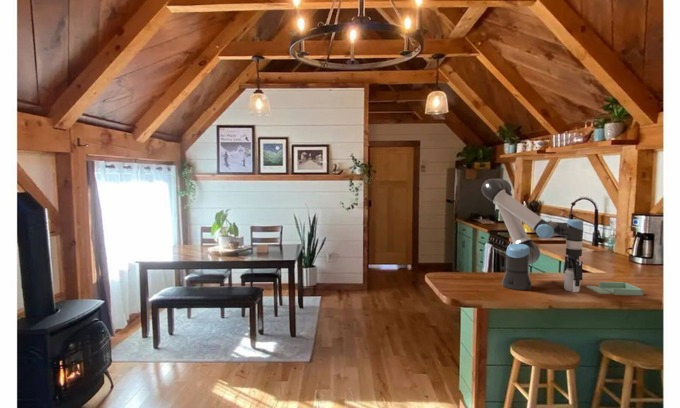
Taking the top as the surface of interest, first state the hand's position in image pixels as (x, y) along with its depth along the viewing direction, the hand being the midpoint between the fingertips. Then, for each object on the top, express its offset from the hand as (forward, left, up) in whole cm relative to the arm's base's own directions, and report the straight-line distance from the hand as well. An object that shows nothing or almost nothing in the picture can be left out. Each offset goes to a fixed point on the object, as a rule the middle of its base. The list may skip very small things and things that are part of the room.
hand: (571, 289), depth 209 cm
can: (0, 0, -1) cm, 1 cm away
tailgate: (+17, 0, 0) cm, 17 cm away
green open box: (+24, 0, -1) cm, 25 cm away
